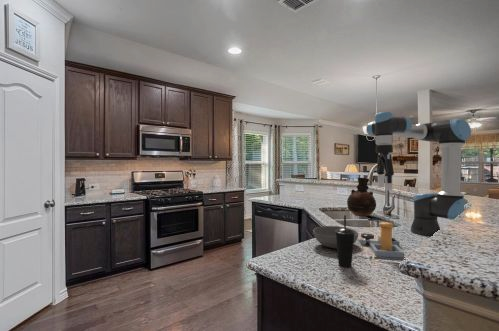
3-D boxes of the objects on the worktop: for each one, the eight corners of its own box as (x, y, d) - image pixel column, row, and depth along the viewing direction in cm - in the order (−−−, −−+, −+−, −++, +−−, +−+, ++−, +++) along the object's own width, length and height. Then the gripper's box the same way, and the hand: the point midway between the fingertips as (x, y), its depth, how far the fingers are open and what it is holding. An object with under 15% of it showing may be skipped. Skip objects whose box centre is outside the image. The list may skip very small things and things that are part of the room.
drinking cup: (354, 263, 114) (354, 214, 114) (355, 269, 107) (355, 217, 107) (335, 261, 117) (335, 213, 117) (334, 267, 110) (334, 216, 110)
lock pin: (391, 252, 126) (391, 222, 126) (394, 257, 120) (394, 225, 120) (377, 252, 127) (378, 221, 127) (380, 256, 121) (380, 224, 121)
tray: (396, 252, 128) (396, 244, 128) (404, 261, 117) (404, 252, 117) (370, 251, 130) (370, 243, 130) (375, 259, 119) (375, 250, 119)
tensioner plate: (396, 244, 140) (396, 233, 140) (403, 252, 128) (403, 240, 128) (357, 242, 144) (358, 231, 144) (361, 249, 132) (361, 237, 132)
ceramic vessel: (346, 217, 214) (346, 177, 213) (347, 213, 230) (347, 176, 230) (376, 218, 206) (376, 178, 206) (375, 214, 222) (375, 177, 222)
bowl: (359, 244, 142) (359, 228, 142) (356, 256, 123) (356, 238, 123) (317, 239, 151) (317, 224, 151) (308, 250, 132) (308, 233, 132)
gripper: (369, 146, 147) (370, 186, 148) (382, 143, 123) (383, 191, 123) (385, 145, 146) (385, 186, 146) (401, 142, 121) (402, 191, 122)
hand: (384, 188), depth 135 cm, fingers open, 13 cm apart
